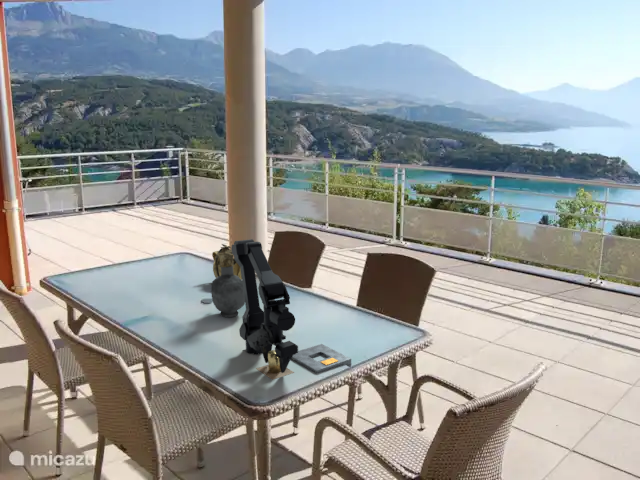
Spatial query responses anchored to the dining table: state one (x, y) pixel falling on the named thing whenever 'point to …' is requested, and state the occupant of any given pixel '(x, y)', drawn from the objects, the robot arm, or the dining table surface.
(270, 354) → the brass peg
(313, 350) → the hole plate
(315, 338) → the dining table surface
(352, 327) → the dining table surface
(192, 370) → the dining table surface
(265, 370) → the pad
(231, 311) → the grey stone vase
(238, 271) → the dried plant tuft
